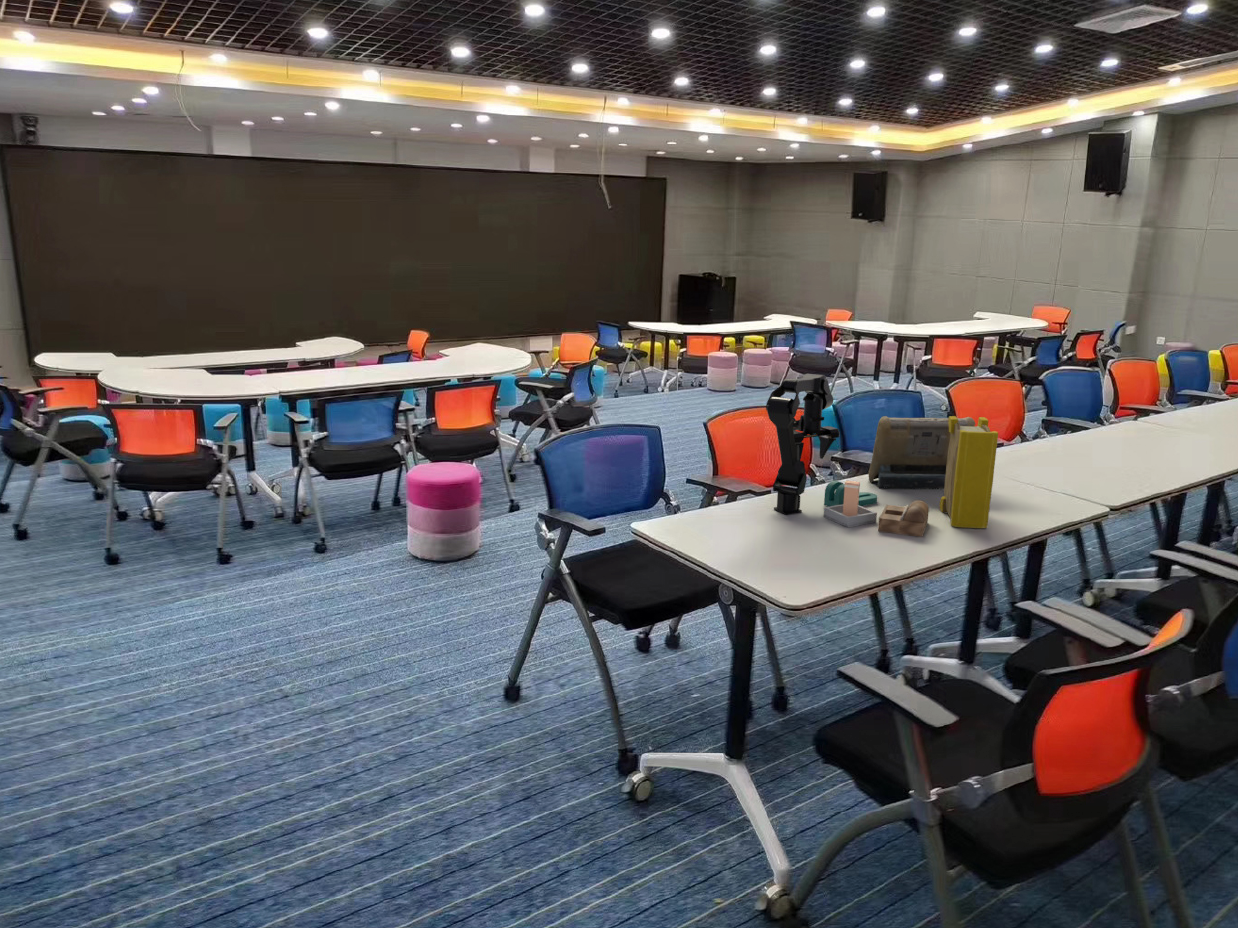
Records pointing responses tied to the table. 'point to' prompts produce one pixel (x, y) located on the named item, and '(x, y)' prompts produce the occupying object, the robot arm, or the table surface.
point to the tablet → (912, 452)
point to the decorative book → (969, 474)
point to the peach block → (851, 498)
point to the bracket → (838, 496)
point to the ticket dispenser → (905, 519)
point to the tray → (862, 518)
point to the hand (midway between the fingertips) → (809, 460)
